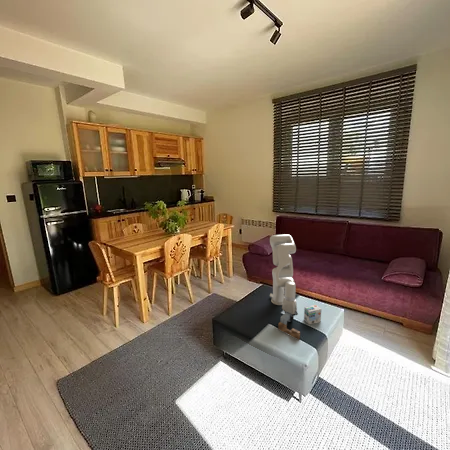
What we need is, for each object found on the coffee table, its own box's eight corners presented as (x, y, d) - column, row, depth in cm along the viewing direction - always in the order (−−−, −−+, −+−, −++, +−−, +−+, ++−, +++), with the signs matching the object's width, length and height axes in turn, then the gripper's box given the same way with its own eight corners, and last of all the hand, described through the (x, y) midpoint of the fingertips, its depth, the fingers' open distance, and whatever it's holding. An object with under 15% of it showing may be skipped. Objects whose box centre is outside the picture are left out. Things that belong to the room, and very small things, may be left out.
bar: (280, 325, 177) (280, 316, 175) (289, 318, 185) (289, 310, 183) (283, 326, 175) (284, 318, 173) (292, 319, 183) (292, 311, 181)
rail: (278, 329, 172) (278, 323, 171) (279, 327, 174) (280, 321, 172) (298, 339, 161) (298, 333, 160) (299, 338, 162) (300, 331, 161)
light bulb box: (308, 324, 176) (309, 311, 174) (303, 319, 182) (304, 306, 180) (321, 321, 179) (321, 309, 176) (315, 316, 185) (316, 304, 183)
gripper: (277, 295, 181) (277, 317, 185) (297, 303, 170) (296, 326, 174) (283, 292, 187) (282, 312, 191) (302, 299, 175) (301, 321, 179)
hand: (289, 319), depth 182 cm, fingers open, 3 cm apart
